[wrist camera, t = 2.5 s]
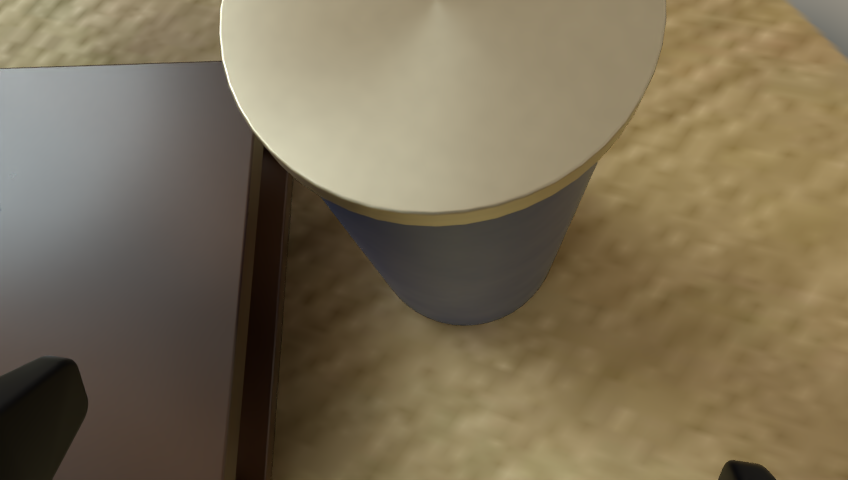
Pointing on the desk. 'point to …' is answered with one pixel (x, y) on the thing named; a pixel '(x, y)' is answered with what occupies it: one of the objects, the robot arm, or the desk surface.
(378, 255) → the blue cylinder
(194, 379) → the rack
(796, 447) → the desk surface
